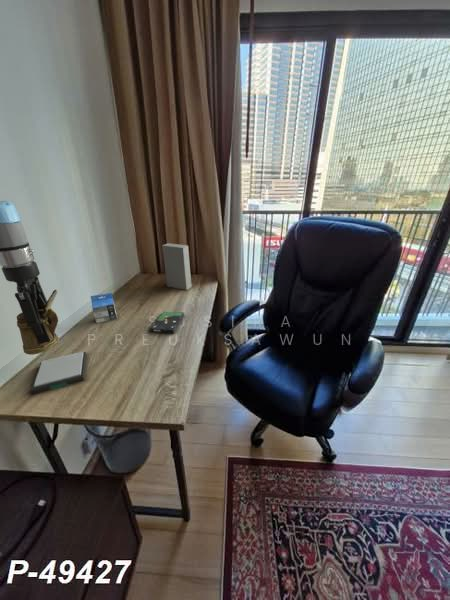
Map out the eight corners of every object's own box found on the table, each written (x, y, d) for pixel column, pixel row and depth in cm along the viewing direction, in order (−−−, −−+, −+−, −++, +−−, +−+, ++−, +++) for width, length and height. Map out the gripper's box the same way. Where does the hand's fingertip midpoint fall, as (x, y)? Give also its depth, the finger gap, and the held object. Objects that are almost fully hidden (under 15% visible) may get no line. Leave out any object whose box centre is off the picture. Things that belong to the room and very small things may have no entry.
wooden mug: (69, 349, 76) (50, 296, 67) (18, 356, 73) (-8, 301, 65) (77, 333, 83) (61, 283, 75) (31, 339, 80) (9, 288, 72)
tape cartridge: (96, 324, 112) (89, 299, 107) (96, 320, 115) (89, 296, 110) (117, 320, 115) (111, 296, 110) (117, 316, 118) (111, 292, 113)
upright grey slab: (192, 287, 148) (189, 245, 137) (186, 291, 143) (183, 247, 132) (173, 283, 153) (168, 242, 142) (167, 287, 148) (161, 245, 137)
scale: (33, 396, 76) (29, 389, 74) (42, 367, 87) (39, 360, 86) (84, 382, 81) (82, 375, 79) (87, 356, 92) (85, 350, 91)
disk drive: (174, 335, 104) (184, 317, 117) (174, 329, 102) (183, 311, 115) (150, 334, 105) (163, 315, 118) (149, 328, 104) (162, 310, 117)
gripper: (25, 273, 60) (56, 350, 70) (42, 252, 76) (65, 317, 86) (-14, 278, 57) (24, 357, 67) (12, 255, 74) (39, 322, 84)
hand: (47, 335), depth 77 cm, fingers closed on wooden mug, 7 cm apart
